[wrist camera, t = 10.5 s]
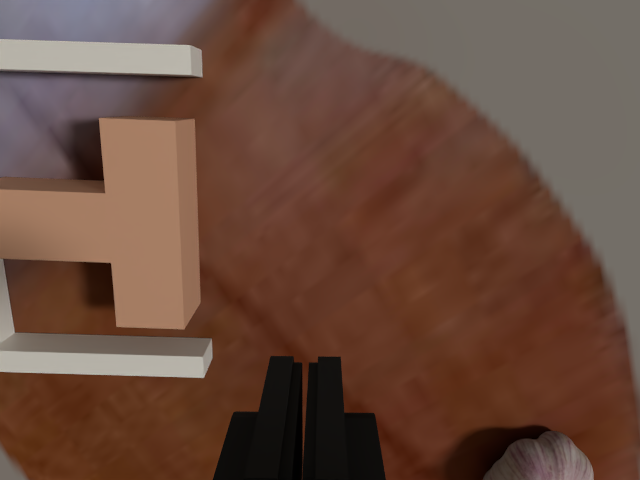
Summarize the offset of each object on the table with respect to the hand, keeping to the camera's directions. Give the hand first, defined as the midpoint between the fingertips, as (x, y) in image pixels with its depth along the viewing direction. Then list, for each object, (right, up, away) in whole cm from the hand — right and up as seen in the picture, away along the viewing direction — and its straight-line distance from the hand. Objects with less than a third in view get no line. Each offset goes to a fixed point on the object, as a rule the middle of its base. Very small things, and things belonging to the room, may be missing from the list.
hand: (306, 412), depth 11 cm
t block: (-13, +6, +19) cm, 24 cm away
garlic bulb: (+16, -12, +25) cm, 32 cm away
